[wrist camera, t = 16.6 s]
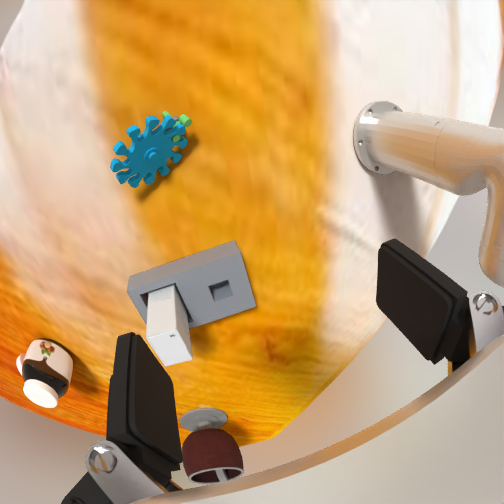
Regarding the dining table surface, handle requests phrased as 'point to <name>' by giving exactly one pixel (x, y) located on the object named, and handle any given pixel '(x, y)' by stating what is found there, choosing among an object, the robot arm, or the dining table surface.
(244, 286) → the stand
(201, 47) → the dining table surface
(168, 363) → the skincare box
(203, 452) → the mate gourd
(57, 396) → the spread jar
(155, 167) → the gear
